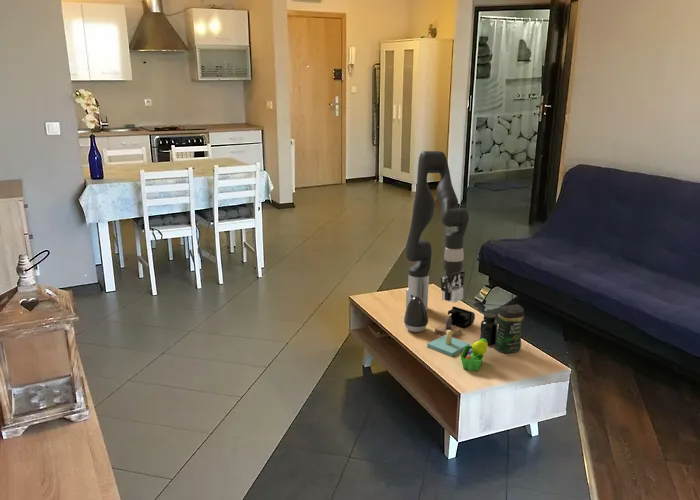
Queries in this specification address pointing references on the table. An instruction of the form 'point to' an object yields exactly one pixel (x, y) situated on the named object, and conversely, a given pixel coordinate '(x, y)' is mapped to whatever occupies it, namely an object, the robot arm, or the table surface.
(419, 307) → the dark grey rounded cone
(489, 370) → the table surface
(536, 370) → the table surface
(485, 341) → the fruit basket
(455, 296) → the collar
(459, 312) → the end cap
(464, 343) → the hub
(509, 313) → the coffee jar
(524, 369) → the table surface
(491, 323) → the supplement bottle
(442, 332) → the stand
